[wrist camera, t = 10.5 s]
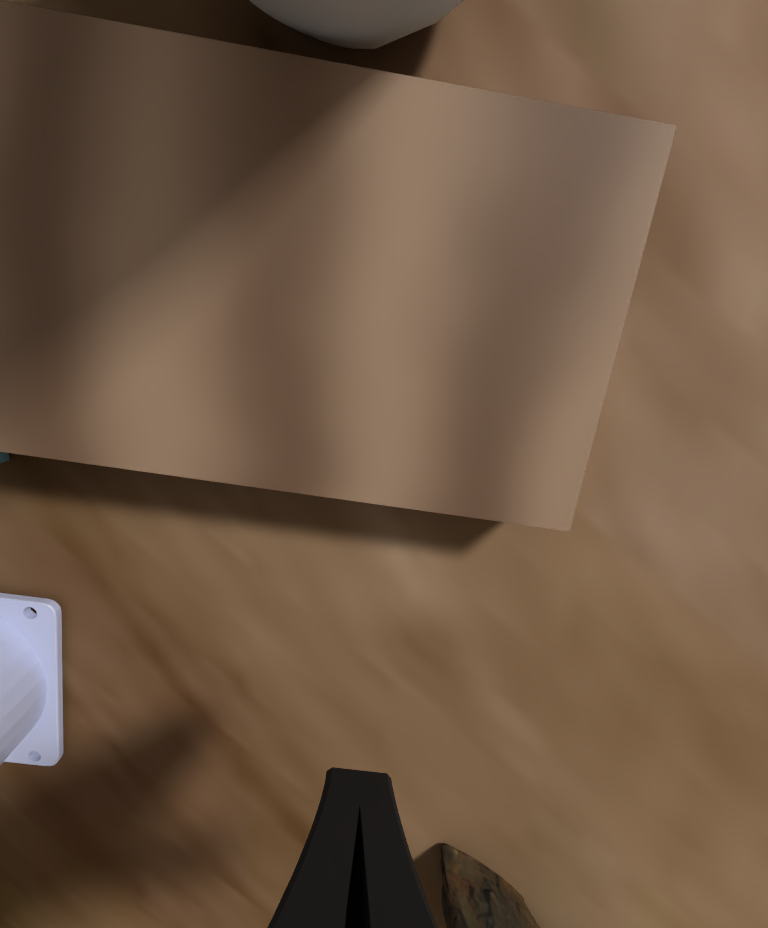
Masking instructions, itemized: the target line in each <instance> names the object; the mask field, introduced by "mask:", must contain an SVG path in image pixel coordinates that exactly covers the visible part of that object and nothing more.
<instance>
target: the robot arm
mask: <svg viewBox="0 0 768 928" xmlns="http://www.w3.org/2000/svg"><path fill="white" fill-rule="evenodd" d="M30 607H31V608H34V609H35V610H36V613H34V612H33V611H32V610H31V608H30ZM37 752H38V753H37ZM62 756H63V692H62V619H61V608H60V606H59V605H58V603H56V602H55V601H54V600H50V599H45V598H37V597H29V596H21V595H13V594H5V593H0V765H1V764H2V763H3V762H14V763H23V764H32V765H41V766H53V765H55V764H56V763H57V762H58V761H59V760H60V758H61V757H62ZM268 928H437V925H436V923H435V920H434V918H433V915H432V913H431V910H430V908H429V905H428V902H427V900H426V897H425V894H424V892H423V889H422V886H421V883H420V880H419V877H418V874H417V872H416V869H415V866H414V863H413V860H412V857H411V854H410V851H409V848H408V844H407V841H406V838H405V834H404V831H403V828H402V824H401V821H400V817H399V813H398V809H397V805H396V801H395V797H394V792H393V787H392V782H391V778H390V777H389V775H388V774H387V773H378V772H369V771H360V770H351V769H342V768H333V767H332V768H331V769H329V770H328V771H327V773H326V779H325V785H324V789H323V793H322V797H321V800H320V804H319V807H318V810H317V813H316V816H315V819H314V822H313V825H312V828H311V830H310V833H309V836H308V838H307V841H306V843H305V846H304V848H303V851H302V853H301V856H300V858H299V861H298V863H297V865H296V868H295V870H294V872H293V875H292V877H291V879H290V881H289V883H288V886H287V888H286V890H285V892H284V894H283V896H282V898H281V901H280V903H279V905H278V907H277V909H276V911H275V914H274V916H273V918H272V920H271V922H270V924H269V926H268Z"/></svg>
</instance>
